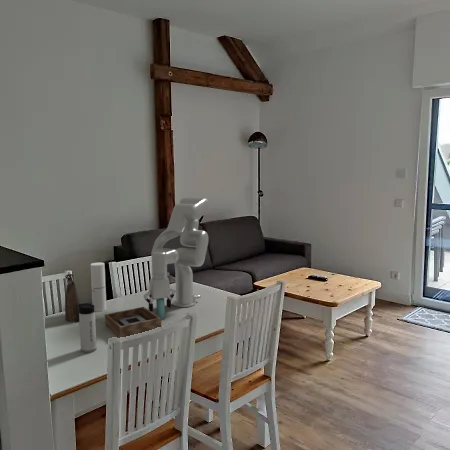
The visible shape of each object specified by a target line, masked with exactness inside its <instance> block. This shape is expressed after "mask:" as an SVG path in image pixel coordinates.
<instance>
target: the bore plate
mask: <svg viewBox="0 0 450 450" xmlns="http://www.w3.org/2000/svg"><path fill="white" fill-rule="evenodd" d="M143 321H146V320H145V319H143V318H142V317H141V316H139V315H137V316H132V317H127V318H123V319H118V324H120V325H121V326H125V325H129V324H134V323H138V322H143Z"/></svg>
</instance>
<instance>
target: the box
mask: <svg viewBox="0 0 450 450" xmlns="http://www.w3.org/2000/svg"><path fill="white" fill-rule="evenodd" d="M137 315H139V316H141V317H142V318H143V319H145V320H146V321H143V322H138V323H134V324H129V325H125V326H121V325H120V324H118V319H123V318H127V317H132V316H137ZM104 325H105V328H107V330H108V331H110V332H111V333H112V334H113V335H114V336H115V337H117V338H118V337H119V338H120V337H126V336H130V335H134V334H138V333H142V332H145V331H149V330H152V329H155V328H157V327H161V328H162V320H161V318H160V317H159V316H157V314H156V313H154V312H153V311H150V310H149V308H146V307H145V306H141V307H136V308H135V307H134V308H131V309H125V310H121V311H116V312H111V313H106V314H104ZM119 338H118V339H119Z"/></svg>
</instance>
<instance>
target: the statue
mask: <svg viewBox="0 0 450 450" xmlns="http://www.w3.org/2000/svg"><path fill="white" fill-rule="evenodd" d="M64 278H65V279H66V283H67V284H66V289H65V297H64V315H65V316H64V317H65V320H66V321H67V322H69V323H70V322H71V323H80V321H79V307H78V305H79V304H80V299H79V294H78V291H77V290H78V289H77V287H76V284H75V281H74V280H73V279H74V274H71V273H70V271H68V272H67V274H65V275H64Z"/></svg>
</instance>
